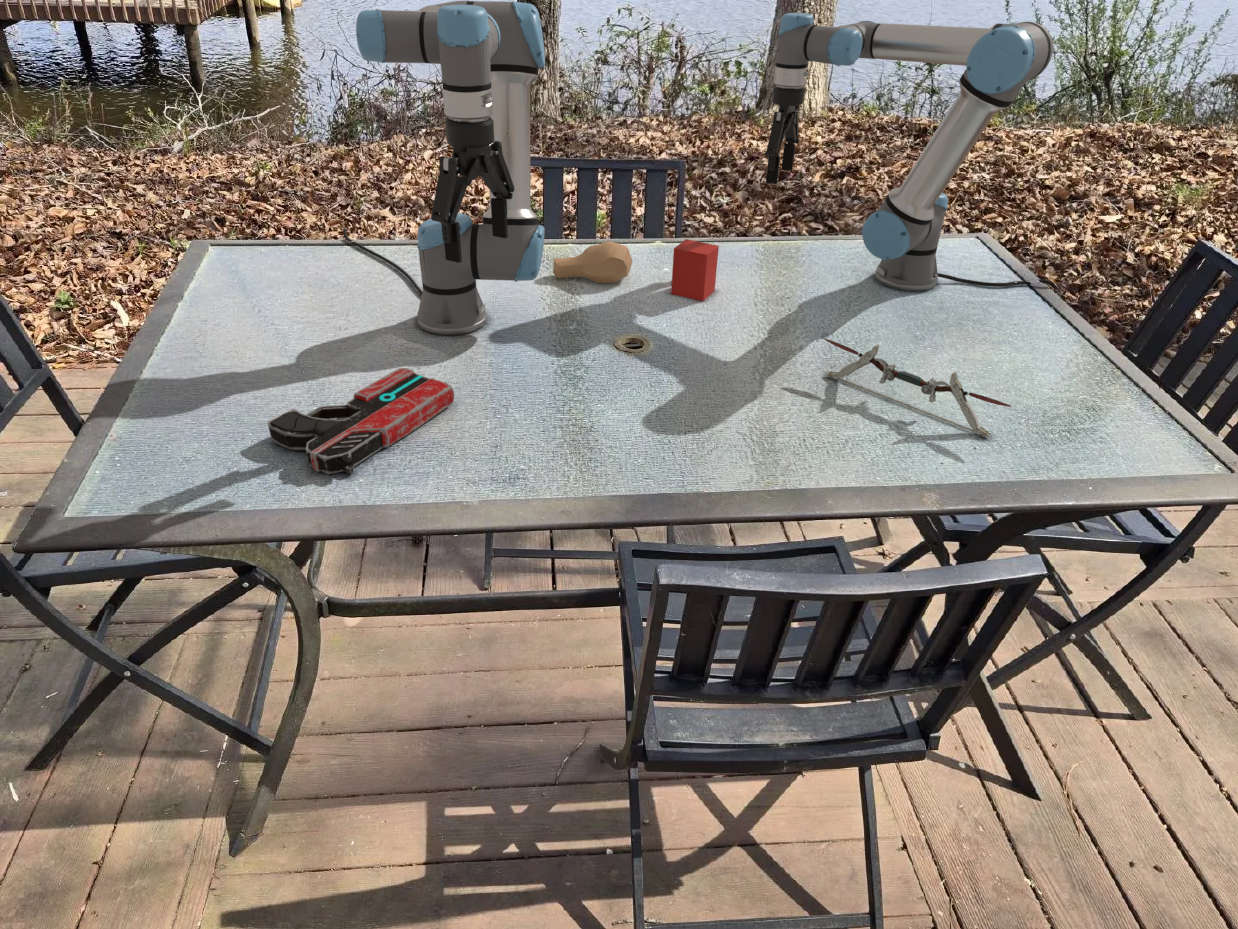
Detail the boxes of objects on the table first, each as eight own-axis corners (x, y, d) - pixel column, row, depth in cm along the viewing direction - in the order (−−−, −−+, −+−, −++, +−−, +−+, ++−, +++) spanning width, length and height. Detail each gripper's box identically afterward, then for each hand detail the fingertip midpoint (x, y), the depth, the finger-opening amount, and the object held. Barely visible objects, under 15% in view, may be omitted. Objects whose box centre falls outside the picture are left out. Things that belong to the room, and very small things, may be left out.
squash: (634, 287, 216) (630, 255, 210) (554, 294, 218) (548, 263, 212) (634, 264, 224) (630, 232, 218) (556, 271, 226) (551, 240, 220)
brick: (703, 301, 210) (707, 254, 204) (670, 294, 213) (673, 248, 207) (714, 291, 216) (718, 245, 209) (683, 284, 219) (686, 239, 212)
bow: (1002, 440, 160) (1018, 392, 155) (998, 443, 159) (1013, 395, 153) (820, 369, 181) (828, 325, 176) (815, 372, 180) (823, 328, 175)
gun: (253, 426, 149) (335, 462, 141) (381, 354, 171) (459, 383, 163) (258, 448, 152) (340, 485, 144) (384, 375, 174) (460, 403, 166)
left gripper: (439, 136, 126) (451, 276, 138) (532, 105, 145) (535, 231, 157) (398, 129, 129) (413, 267, 141) (494, 100, 148) (500, 223, 160)
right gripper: (790, 96, 198) (779, 190, 210) (818, 79, 217) (806, 166, 229) (758, 93, 201) (749, 186, 212) (788, 76, 220) (779, 163, 231)
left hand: (477, 248), depth 149 cm, fingers open, 13 cm apart
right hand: (779, 176), depth 221 cm, fingers open, 13 cm apart
